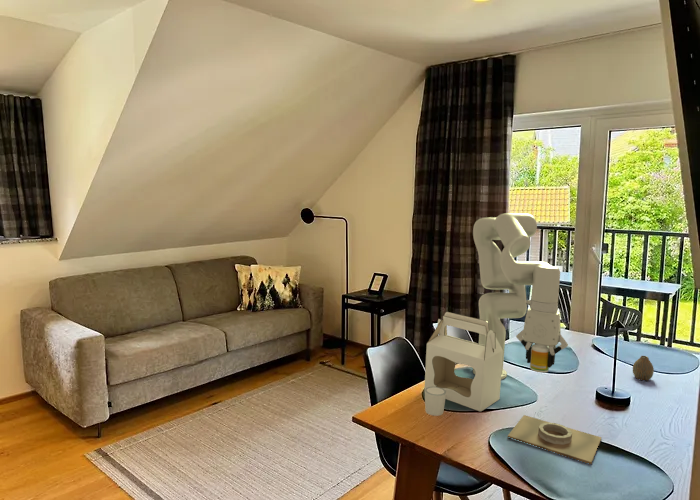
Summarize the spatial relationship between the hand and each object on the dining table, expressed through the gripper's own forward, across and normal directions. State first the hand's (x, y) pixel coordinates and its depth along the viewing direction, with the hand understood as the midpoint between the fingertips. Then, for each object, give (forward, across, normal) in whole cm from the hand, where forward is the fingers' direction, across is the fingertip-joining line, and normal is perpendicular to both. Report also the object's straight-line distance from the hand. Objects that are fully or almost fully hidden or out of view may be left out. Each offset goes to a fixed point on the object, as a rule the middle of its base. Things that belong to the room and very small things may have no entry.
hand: (539, 363), depth 152 cm
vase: (+18, +24, +60) cm, 67 cm away
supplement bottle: (+2, 0, 0) cm, 2 cm away
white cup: (+18, -27, -15) cm, 36 cm away
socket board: (+18, +8, -9) cm, 22 cm away
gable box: (+18, -25, +2) cm, 31 cm away
